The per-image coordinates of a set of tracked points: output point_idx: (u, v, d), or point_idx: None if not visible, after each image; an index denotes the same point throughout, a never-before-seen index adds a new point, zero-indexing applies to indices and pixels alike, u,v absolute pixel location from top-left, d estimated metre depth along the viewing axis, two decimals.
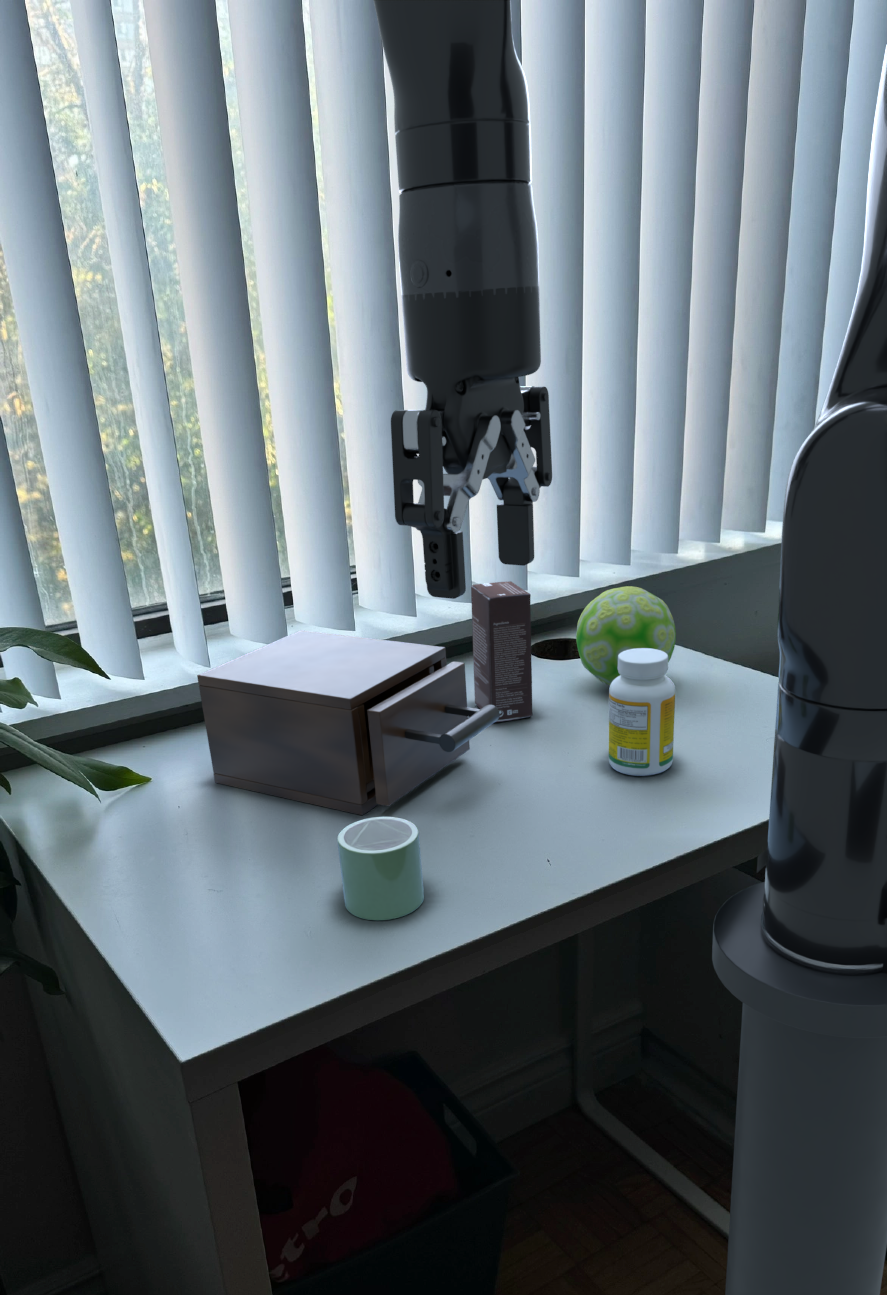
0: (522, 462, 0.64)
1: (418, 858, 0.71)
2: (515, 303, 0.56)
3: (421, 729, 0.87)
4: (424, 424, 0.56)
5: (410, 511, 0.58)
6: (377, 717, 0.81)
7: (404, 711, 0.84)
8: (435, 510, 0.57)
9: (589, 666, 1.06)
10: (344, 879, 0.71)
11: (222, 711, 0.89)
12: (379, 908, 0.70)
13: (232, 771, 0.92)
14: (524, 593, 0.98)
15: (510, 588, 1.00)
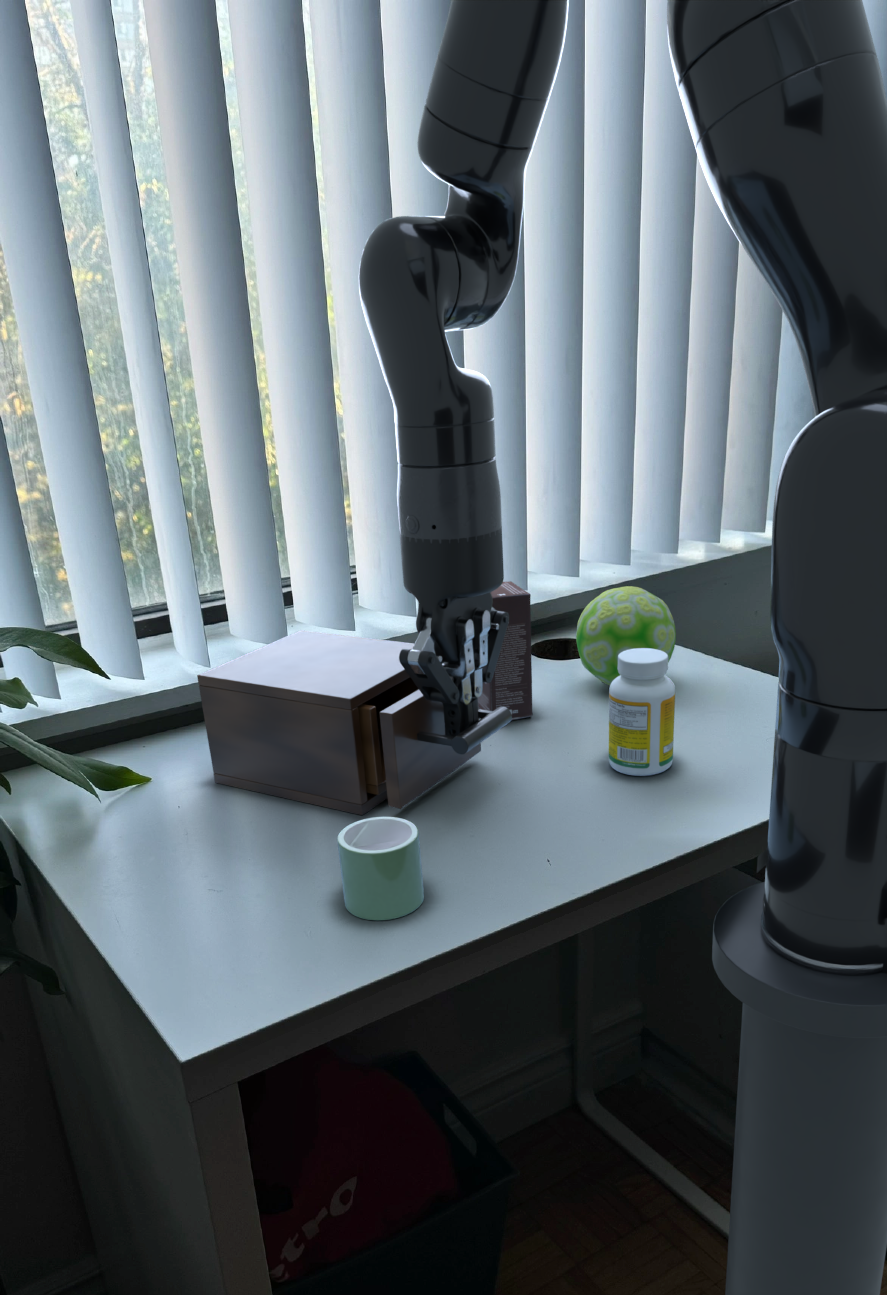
0: (479, 653, 0.82)
1: (418, 858, 0.71)
2: (483, 545, 0.76)
3: (433, 731, 0.86)
4: (425, 666, 0.78)
5: (435, 692, 0.82)
6: (389, 719, 0.81)
7: (416, 713, 0.83)
8: (453, 693, 0.81)
9: (589, 666, 1.06)
10: (344, 879, 0.71)
11: (222, 711, 0.89)
12: (379, 908, 0.70)
13: (232, 771, 0.92)
14: (524, 593, 0.98)
15: (510, 588, 1.00)
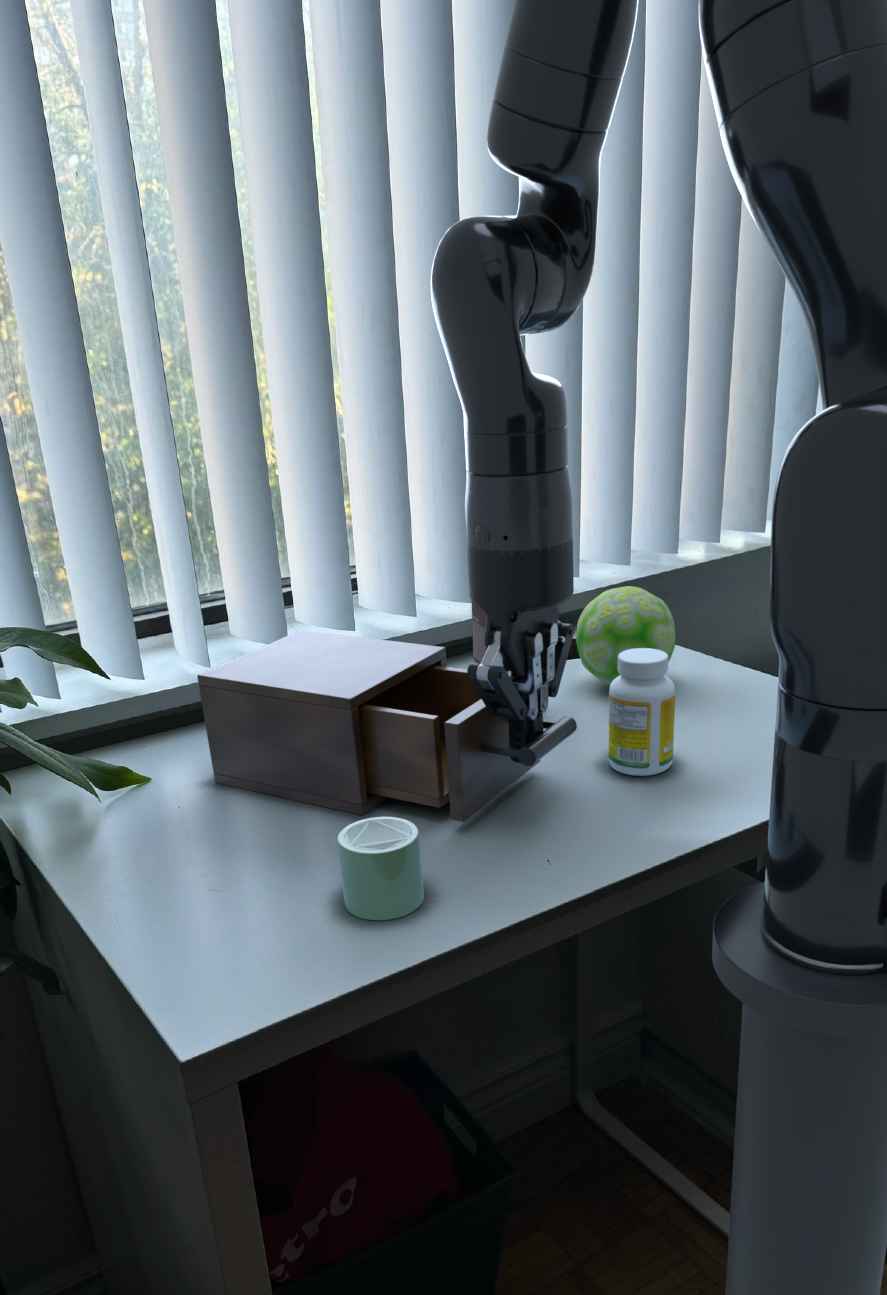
0: (546, 667, 0.80)
1: (418, 858, 0.71)
2: (555, 556, 0.74)
3: (496, 742, 0.83)
4: (494, 682, 0.75)
5: (502, 708, 0.79)
6: (455, 730, 0.78)
7: (480, 723, 0.80)
8: (521, 708, 0.78)
9: (589, 666, 1.06)
10: (344, 879, 0.71)
11: (222, 711, 0.89)
12: (379, 908, 0.70)
13: (232, 771, 0.92)
14: None
15: None
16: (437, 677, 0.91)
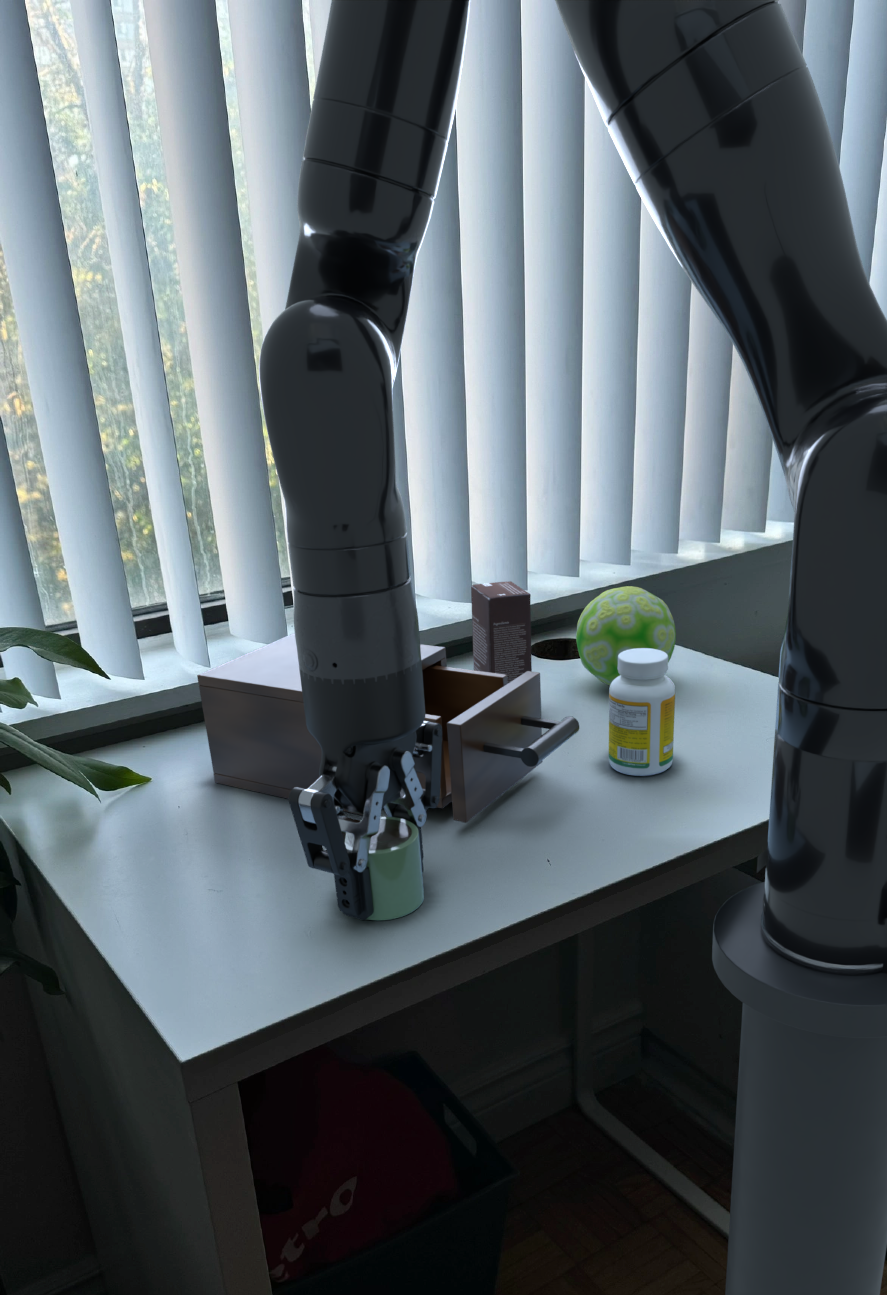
0: (409, 794, 0.71)
1: (418, 858, 0.71)
2: (395, 684, 0.64)
3: (498, 742, 0.83)
4: (317, 809, 0.63)
5: (320, 861, 0.67)
6: (457, 730, 0.78)
7: (483, 724, 0.80)
8: (341, 863, 0.66)
9: (589, 666, 1.06)
10: None
11: (222, 711, 0.89)
12: (379, 908, 0.70)
13: (232, 771, 0.92)
14: (524, 593, 0.98)
15: (510, 588, 1.00)
16: (439, 677, 0.91)
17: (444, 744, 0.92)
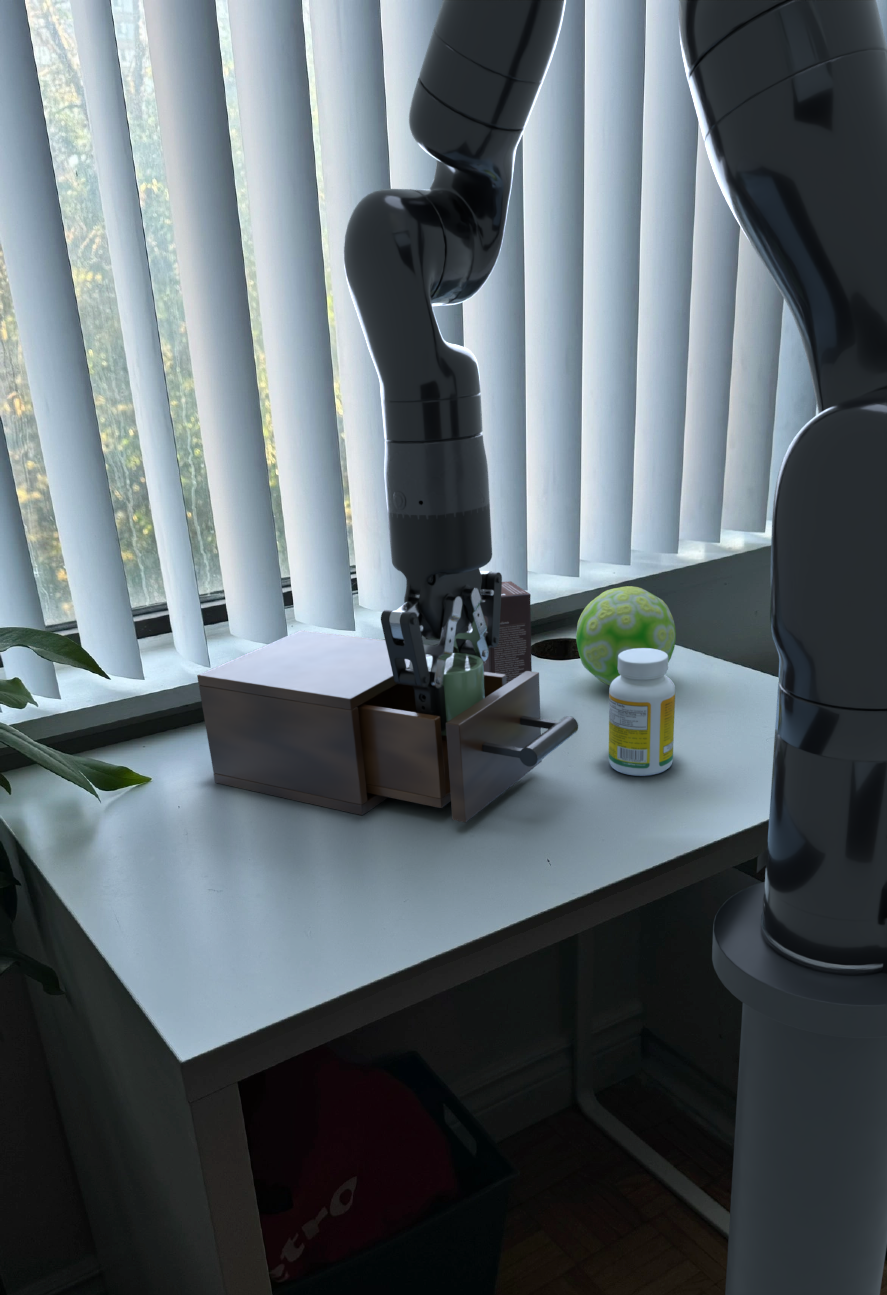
0: (476, 628, 0.83)
1: (483, 683, 0.84)
2: (470, 521, 0.76)
3: (497, 742, 0.83)
4: (405, 625, 0.76)
5: (405, 675, 0.79)
6: (456, 730, 0.78)
7: (482, 723, 0.80)
8: (423, 676, 0.79)
9: (589, 666, 1.06)
10: None
11: (222, 711, 0.89)
12: None
13: (232, 771, 0.92)
14: (524, 593, 0.98)
15: (510, 588, 1.00)
16: None
17: (443, 744, 0.92)
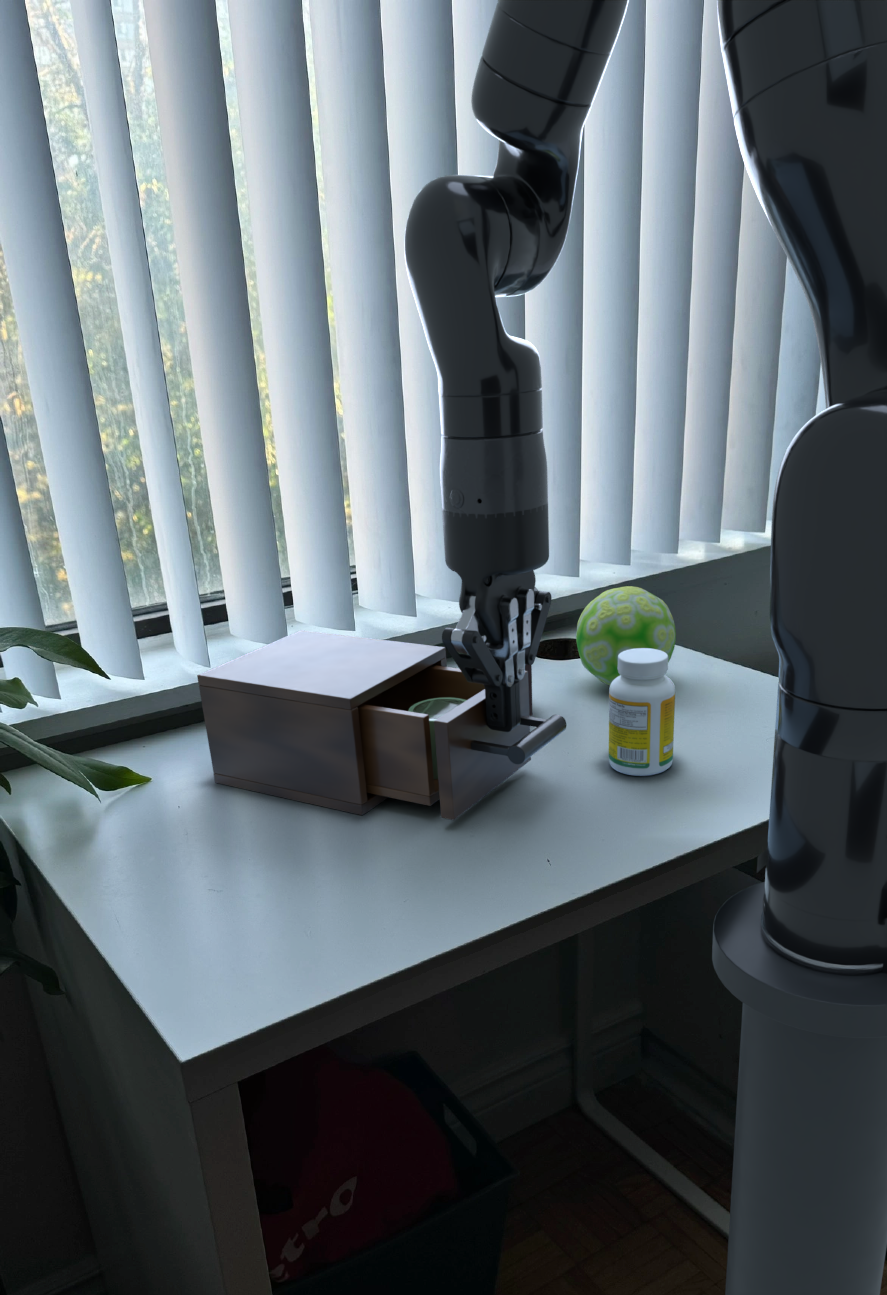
0: (522, 633, 0.80)
1: None
2: (530, 520, 0.74)
3: (486, 740, 0.83)
4: (469, 646, 0.75)
5: (477, 674, 0.79)
6: (444, 728, 0.78)
7: (470, 721, 0.81)
8: (496, 674, 0.78)
9: (589, 666, 1.06)
10: None
11: (222, 711, 0.89)
12: None
13: (232, 771, 0.92)
14: None
15: None
16: (428, 676, 0.91)
17: None
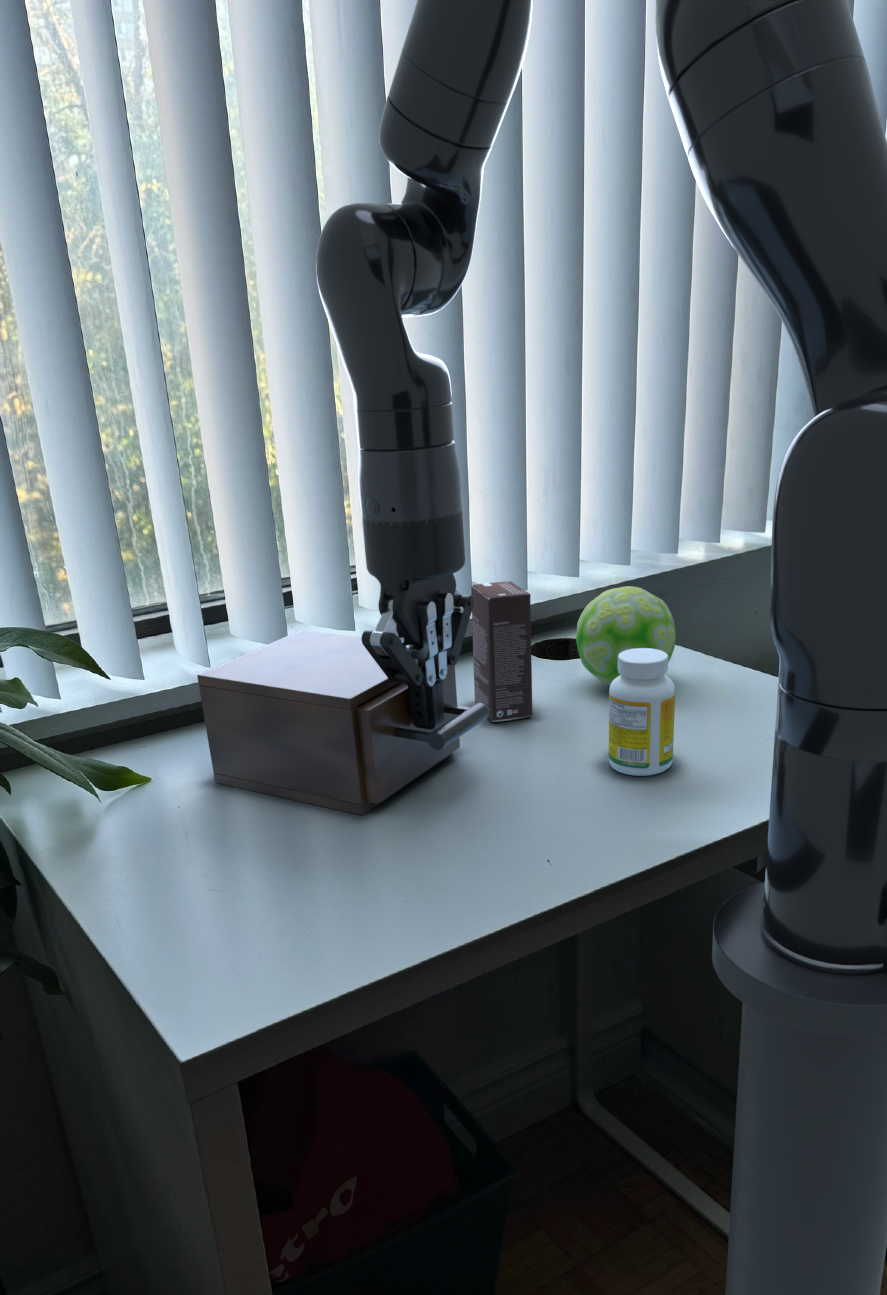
0: (442, 635, 0.84)
1: None
2: (442, 527, 0.78)
3: (411, 727, 0.87)
4: (386, 647, 0.79)
5: (399, 674, 0.83)
6: (366, 715, 0.82)
7: (393, 709, 0.84)
8: (416, 674, 0.82)
9: (589, 666, 1.06)
10: None
11: (222, 711, 0.89)
12: None
13: (232, 771, 0.92)
14: (524, 593, 0.98)
15: (510, 588, 1.00)
16: None
17: None
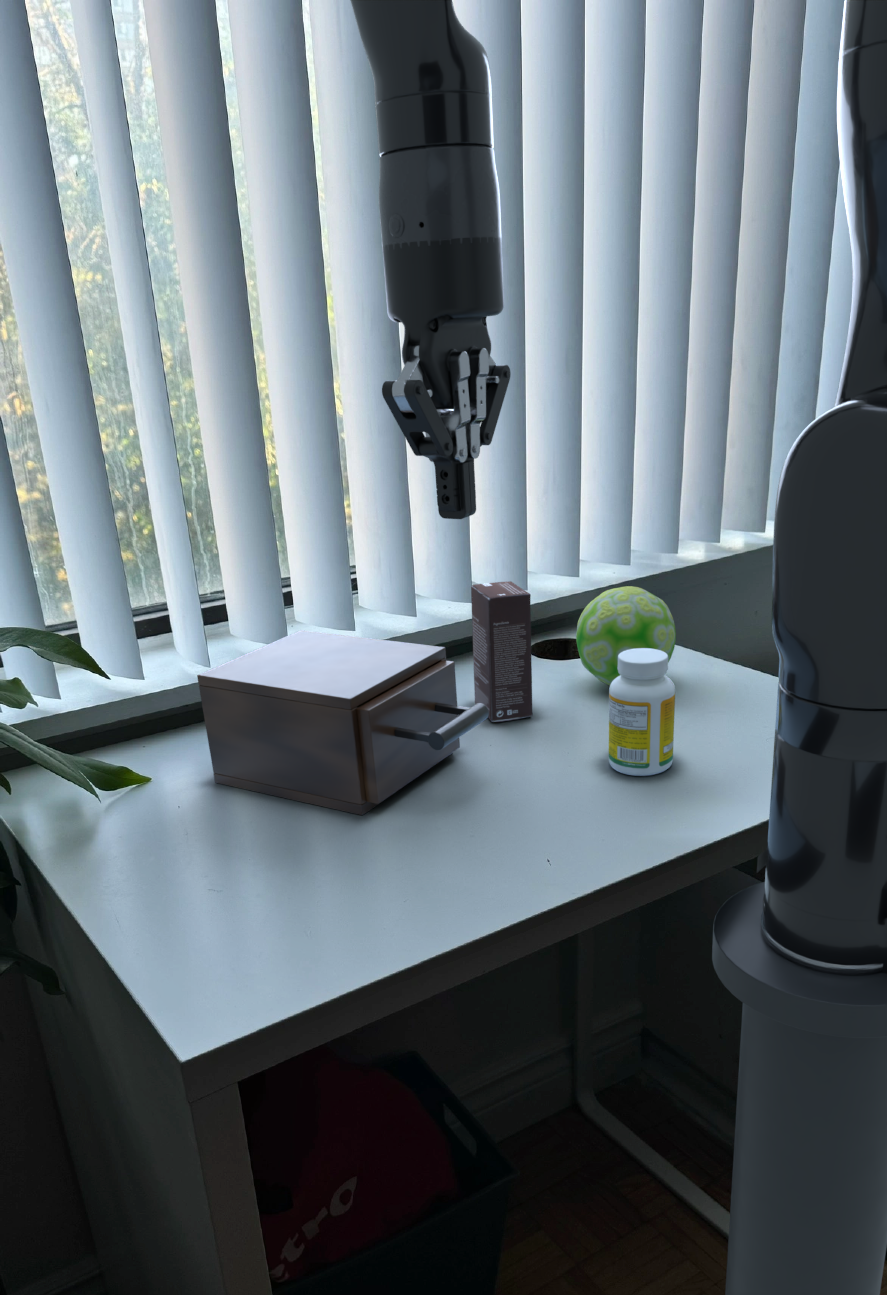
0: (475, 401, 0.71)
1: None
2: (479, 251, 0.65)
3: (411, 727, 0.87)
4: (412, 398, 0.66)
5: (425, 443, 0.70)
6: (366, 715, 0.82)
7: (393, 709, 0.84)
8: (445, 442, 0.70)
9: (589, 666, 1.06)
10: None
11: (222, 711, 0.89)
12: None
13: (232, 771, 0.92)
14: (524, 593, 0.98)
15: (510, 588, 1.00)
16: None
17: None
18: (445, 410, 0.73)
